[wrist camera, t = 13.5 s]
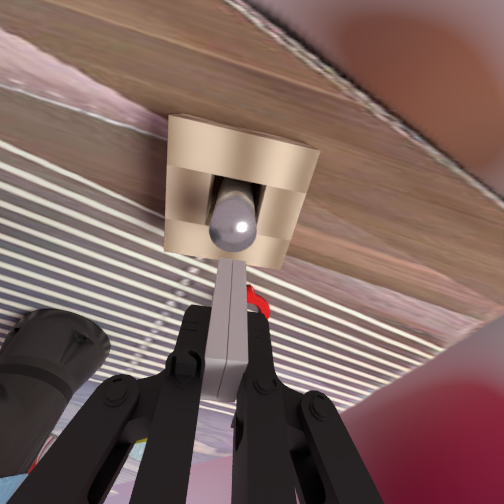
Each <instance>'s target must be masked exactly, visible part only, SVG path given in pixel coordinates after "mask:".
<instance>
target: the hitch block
mask: <svg viewBox="0 0 504 504" xmlns="http://www.w3.org/2000/svg"><path fill="white" fill-rule="evenodd" d="M319 154H320V150H318V149H316V148H315V147H313V146H311V145H309V144H307V143H305V142H301V141H297V140H292V139H288V138H284V137H280V136H276V135H272V134H267V133H263V132H259V131H255V130H251V129H247V128H242V127H238V126H234V125H230V124H226V123H221V122H217V121H213V120H209V119H205V118H201V117H196V116H192V115H188V114H184V113H182V114H172V115H169V119H168V148H167V177H166V207H165V236H164V251H165V252H171V253H177V254H184V255H190V256H196V257H202V258H209V259H215V260H219V259H220V257H222V258H228V259H235V260H241V261H246V265H253V266H259V267H265V268H271V269H278V270H281V267H282V264H283V261H284V258H285V255H286V252H287V249H288V246H289V243H290V240H291V237H292V234H293V231H294V228H295V225H296V222H297V219H298V216H299V213H300V210H301V207H302V205H303V202H304V199H305V196H306V193H307V190H308V187H309V184H310V181H311V178H312V175H313V172H314V169H315V166H316V163H317V160H318V157H319ZM215 175H219V176H224V177H229V178H234V179H238V180H243V181H248V182H253V183H258V184H259V189H258V193H257V197H256V202H255V206H254V210H255V218H256V227H257V235H256V239H255V241H254V242H253V244H252V245H251V246H250V247H249V248H247V249H245V250H243V251H240V252H227V251H224V250H222V249H220V248H218V247H217V246H216V245H215V244H214V243H213V242H212V240H211V238H210V235H209V226H210V222H211V219H212V215H213V211H214V208H215V207H214V206H211V200H212V193H213V186H214V178H215Z"/></svg>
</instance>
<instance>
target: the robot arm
mask: <svg viewBox="0 0 504 504" xmlns="http://www.w3.org/2000/svg"><path fill="white" fill-rule="evenodd" d="M232 262H233V263H232ZM269 331H270V330H269V322H268V320H267V318H266V317H265V315H264V313H257V312H249V311H247V288H246V261H241V260H235V259H228V258H222V257H220V259H219V265H218V271H217V276H216V282H215V288H214V294H213V300H212V307H207V306H199V305H191V306H190V307H189V308H188V309H187V310H186V311H185V313H184V317H183V321H182V324H181V328H180V331H179V335H178V338H177V342H176V346H175V349H174V351H173V352H172V353H171V354H170V355H169V356H168V358H167V360H166V365H165V369H164V370H163V371H162V372H160V373H159V374H157V375H154V376H151V377H147V378H142V379H138V380H136V379H135V378H134V377H132V376H130V375H126V374H120V375H115V376H112V377H110V378H108V379H106V380H104V381H103V382H102V383H101V384H100V385H99V386H98V387H97V388H96V390H95V391H94V392H93V393H92V395H91V396H90V397H89V399H88V400H87V401H86V402H85V404H84V405H83V406H82V407H81V409H80V410H79V411H78V412H77V414H76V415H75V416H74V418H73V419H72V420H71V421H70V423H69V424H68V425H67V426H66V428H65V429H64V430H63V431H62V433H61V434H60V435H59V437H58V438H57V439H56V440H55V442H54V443H53V444H52V445H51V447H50V448H49V449H48V451H47V452H46V453H45V454H44V456H43V457H42V458H41V459H40V461H39V462H38V463H37V464H36V466H35V467H34V468H33V470H32V471H31V472H30V473H29V475H28V472H29V470H30V469H31V467H32V465H33V463H34V462H35V460H36V458H37V457H38V455H39V453H40V451H41V450H42V448H43V446H44V444H45V443H46V441H47V439H48V438H49V436H50V434H51V432H52V431H53V429H54V427H55V425H56V424H57V422H58V420H59V419H60V417H61V415H62V413H63V412H64V410H65V408H66V406H67V405H68V403H69V401H70V399H71V398H72V396H73V395H74V393H75V392H76V391H77V390H78V389H79V388H80V387H81V386H82V385H83V384H84V383H85V382H86V381H87V380H88V379H89V378H90V377H91V376H92V375H93V374H94V373H95V372H96V371H97V370H98V369H99V368H100V367H101V366H102V365H103V363H104V361H105V360H106V358H107V356H108V354H109V352H110V342H109V339H108V337H107V336H106V334H105V333H104V332H103V330H102V329H101V328H99V327H98V326H97V325H96V324H94V323H93V322H91V321H90V320H88V319H86V318H84V317H82V316H79V315H77V314H74V313H70V312H66V311H61V310H51V309H47V310H38V311H34V312H31V313H28V314H27V315H25V316H24V317H23V318H22V319H20V320H19V321H18V322H17V323H16V324H15V325H14V326H13V327H12V329H11V330H10V331H9V333H8V335H7V337H6V339H5V341H4V343H3V345H2V347H1V349H0V504H103V503H104V501H105V499H106V497H107V495H108V493H109V492H110V490H111V488H112V486H113V484H114V482H115V480H116V478H117V477H118V475H119V473H120V471H121V469H122V467H123V465H124V463H125V462H126V460H127V458H128V456H129V454H130V452H131V450H132V448H133V447H134V445H135V443H136V441H139V440H142V439H145V438H147V441H146V445H145V448H144V452H143V456H142V459H141V463H140V466H139V470H138V473H137V477H136V480H135V484H134V488H133V491H132V495H131V498H130V502H129V504H186V496H187V489H188V482H189V475H190V468H191V461H192V454H193V446H194V439H195V432H196V425H197V418H198V410H199V403H200V400H212V401H216V398H217V401H225V402H235V400H236V397H237V405H236V412H235V414H234V417H233V420H232V424H231V428H234V433H233V465H232V498H231V504H297V502H296V494H295V489H296V493H297V495H298V499H299V502H300V504H384V502H383V500H382V498H381V496H380V494H379V492H378V490H377V488H376V486H375V484H374V482H373V480H372V478H371V476H370V474H369V472H368V470H367V468H366V467H365V465H364V463H363V461H362V459H361V457H360V455H359V453H358V451H357V449H356V447H355V445H354V443H353V441H352V439H351V437H350V435H349V433H348V431H347V429H346V427H345V425H344V423H343V421H342V419H341V417H340V415H339V413H338V411H337V409H336V408H335V406H334V404H333V403H332V401H331V400H330V399H329V398H328V397H327V396H326V395H325V394H323V393H321V392H319V391H313V390H311V391H308V392H306V393H305V394H302V393H299V392H297V391H295V390H293V389H290V388H289V387H287V386H285V385H284V384H283V383H282V382H281V381H280V380H279V379H278V377H277V375H276V373H275V369H274V363H273V355H272V346H271V340H270V333H269ZM294 486H295V487H294Z"/></svg>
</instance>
